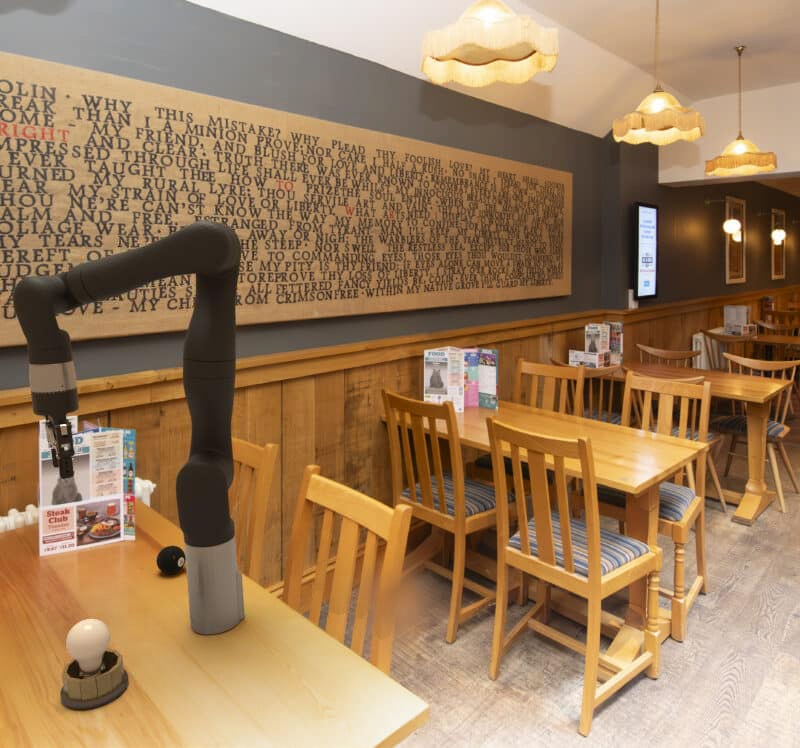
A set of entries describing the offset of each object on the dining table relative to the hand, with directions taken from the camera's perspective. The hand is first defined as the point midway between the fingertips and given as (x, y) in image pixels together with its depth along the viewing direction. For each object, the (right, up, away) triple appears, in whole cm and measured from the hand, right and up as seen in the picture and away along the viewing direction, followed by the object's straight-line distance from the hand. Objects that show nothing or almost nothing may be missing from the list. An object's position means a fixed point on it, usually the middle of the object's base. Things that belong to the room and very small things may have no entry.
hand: (63, 471), depth 122 cm
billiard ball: (+12, -26, +25) cm, 38 cm away
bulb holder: (+13, -33, -16) cm, 39 cm away
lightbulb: (+13, -32, -16) cm, 38 cm away
